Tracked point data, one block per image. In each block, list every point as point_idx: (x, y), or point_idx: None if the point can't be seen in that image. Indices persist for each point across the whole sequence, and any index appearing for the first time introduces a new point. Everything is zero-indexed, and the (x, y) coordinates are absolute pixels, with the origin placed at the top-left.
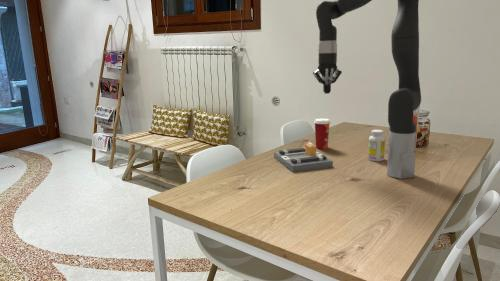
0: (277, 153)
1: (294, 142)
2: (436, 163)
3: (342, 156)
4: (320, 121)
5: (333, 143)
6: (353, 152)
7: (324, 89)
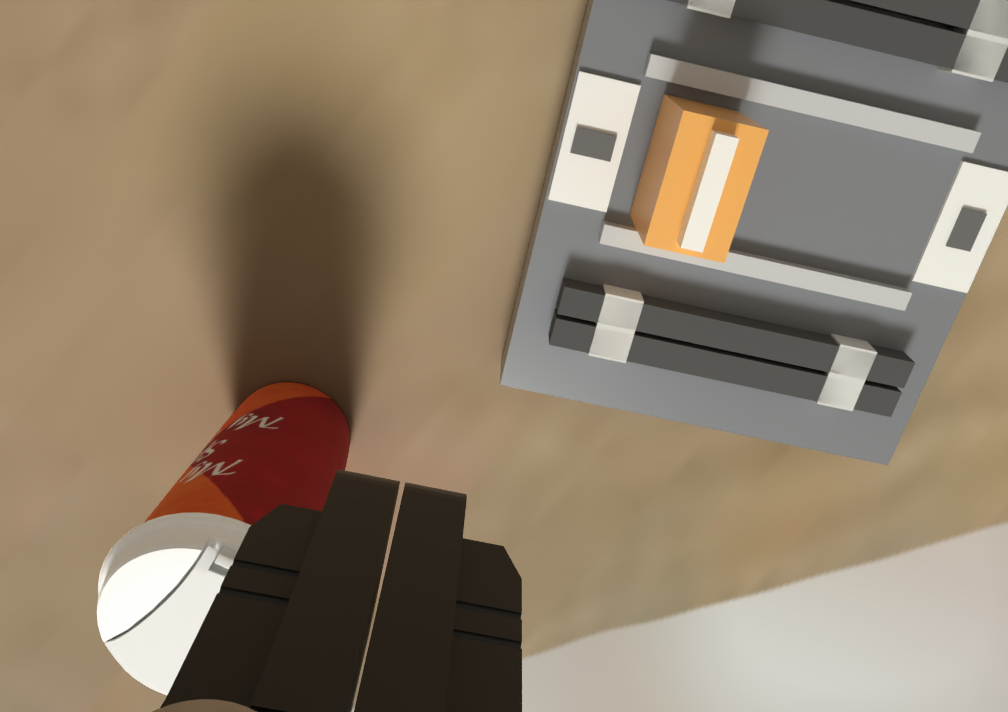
0: (902, 403)
1: None
2: None
3: (296, 72)
4: None
5: (103, 480)
6: (100, 119)
7: (518, 643)
